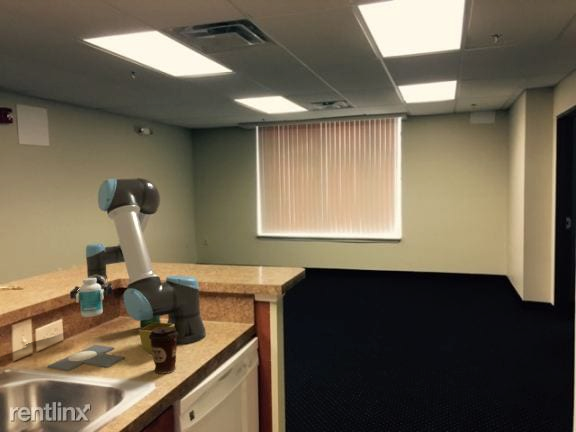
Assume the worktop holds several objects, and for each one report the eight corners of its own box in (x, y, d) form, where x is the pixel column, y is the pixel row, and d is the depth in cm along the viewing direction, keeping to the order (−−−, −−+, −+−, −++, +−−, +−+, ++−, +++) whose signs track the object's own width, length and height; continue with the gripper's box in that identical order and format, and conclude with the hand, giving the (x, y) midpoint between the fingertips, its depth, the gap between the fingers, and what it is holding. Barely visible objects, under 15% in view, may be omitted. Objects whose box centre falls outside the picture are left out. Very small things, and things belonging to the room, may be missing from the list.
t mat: (137, 351, 161) (136, 350, 161) (92, 374, 143) (92, 372, 143) (95, 346, 168) (94, 344, 168) (47, 367, 150) (47, 365, 150)
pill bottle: (106, 314, 173) (103, 278, 172) (86, 318, 168) (83, 281, 167) (97, 310, 178) (95, 275, 177) (78, 315, 173) (75, 279, 172)
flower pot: (161, 358, 154) (159, 331, 154) (139, 355, 158) (138, 329, 157) (176, 349, 163) (175, 323, 162) (155, 346, 166) (154, 322, 165)
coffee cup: (162, 378, 139) (159, 335, 138) (145, 372, 144) (142, 330, 143) (185, 368, 145) (182, 327, 144) (168, 362, 150) (165, 323, 149)
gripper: (122, 291, 193) (119, 304, 171) (68, 296, 187) (59, 311, 165) (121, 273, 192) (118, 284, 171) (67, 278, 186) (57, 290, 165)
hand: (89, 297), depth 168 cm, fingers closed on pill bottle, 7 cm apart
